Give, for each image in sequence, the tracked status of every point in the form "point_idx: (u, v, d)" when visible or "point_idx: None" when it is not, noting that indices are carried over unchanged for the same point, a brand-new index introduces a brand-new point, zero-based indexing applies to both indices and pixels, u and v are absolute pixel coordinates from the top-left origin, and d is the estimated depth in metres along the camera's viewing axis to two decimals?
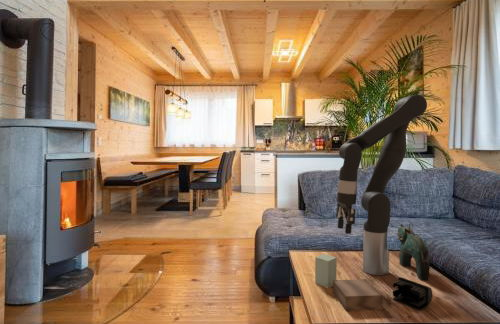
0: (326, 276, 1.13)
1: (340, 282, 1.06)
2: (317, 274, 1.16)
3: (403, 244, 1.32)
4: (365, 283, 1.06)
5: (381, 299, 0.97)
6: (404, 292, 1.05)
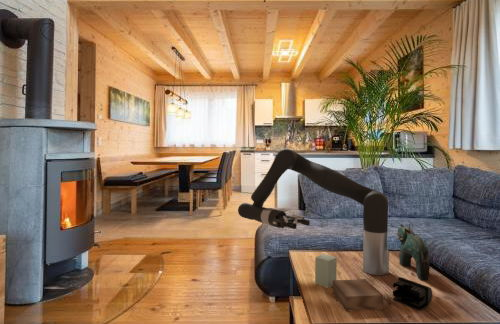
0: (326, 276, 1.13)
1: (340, 283, 1.06)
2: (317, 274, 1.16)
3: (403, 244, 1.32)
4: (364, 283, 1.06)
5: (381, 299, 0.98)
6: (404, 292, 1.05)
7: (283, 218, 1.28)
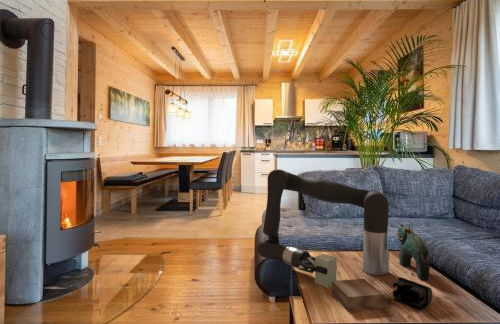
0: (326, 276, 1.13)
1: (340, 283, 1.06)
2: (317, 274, 1.16)
3: (403, 244, 1.32)
4: (364, 282, 1.06)
5: (382, 298, 0.98)
6: (404, 292, 1.05)
7: (309, 261, 1.19)
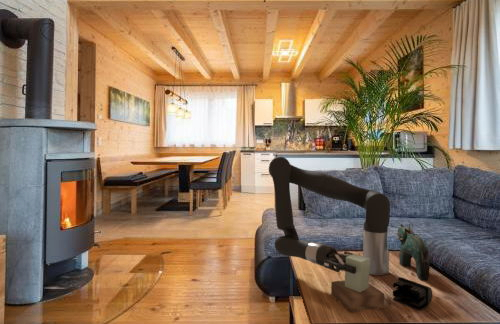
0: (358, 279, 0.99)
1: (339, 284, 1.05)
2: (347, 276, 1.02)
3: (403, 244, 1.32)
4: None
5: (382, 298, 0.99)
6: (404, 292, 1.05)
7: (336, 258, 1.05)
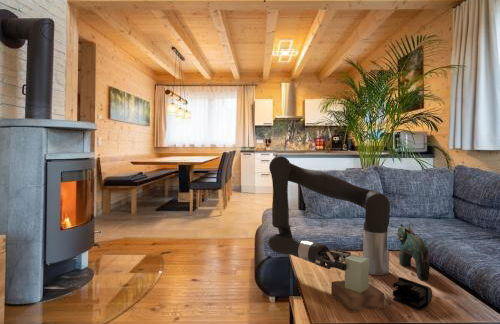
0: (358, 280, 0.99)
1: (339, 284, 1.06)
2: (347, 277, 1.02)
3: (403, 244, 1.32)
4: None
5: (382, 297, 0.99)
6: (404, 292, 1.05)
7: (328, 255, 1.08)
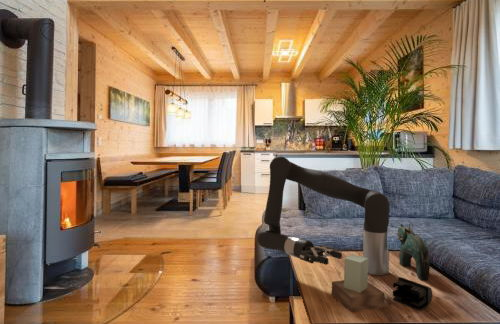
0: (357, 280, 0.99)
1: (340, 283, 1.06)
2: (346, 277, 1.02)
3: (403, 244, 1.32)
4: None
5: (383, 297, 0.99)
6: (404, 292, 1.05)
7: (311, 250, 1.13)
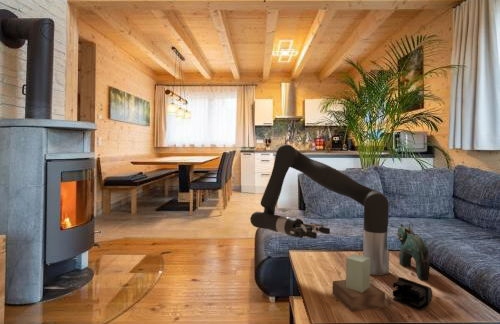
0: (359, 279, 0.99)
1: (341, 283, 1.06)
2: (348, 277, 1.02)
3: (403, 244, 1.32)
4: None
5: (383, 297, 0.99)
6: (404, 292, 1.05)
7: (301, 227, 1.19)
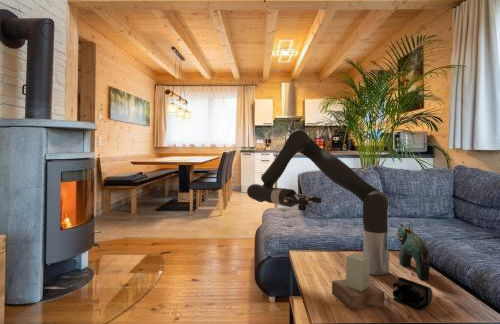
0: (359, 278, 1.00)
1: (340, 283, 1.06)
2: (349, 276, 1.03)
3: (403, 244, 1.32)
4: None
5: (383, 296, 0.99)
6: (404, 292, 1.05)
7: (294, 196, 1.25)
